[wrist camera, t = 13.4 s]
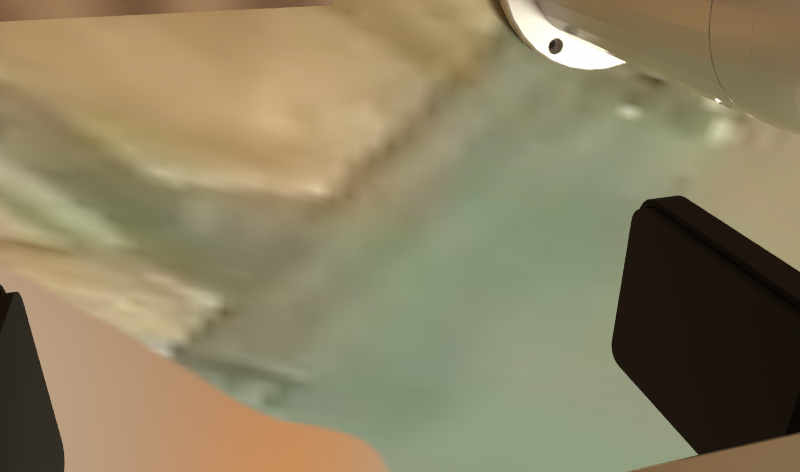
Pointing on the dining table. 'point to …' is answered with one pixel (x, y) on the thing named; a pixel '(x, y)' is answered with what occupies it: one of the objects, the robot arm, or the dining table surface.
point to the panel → (132, 7)
